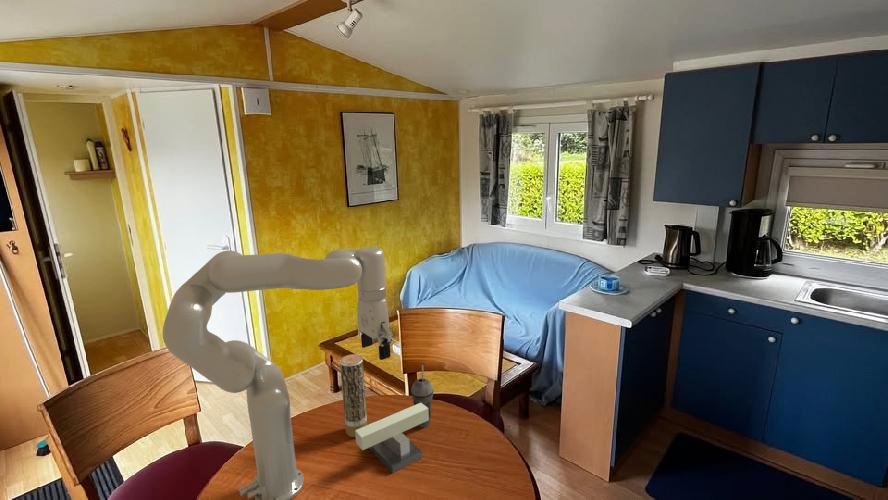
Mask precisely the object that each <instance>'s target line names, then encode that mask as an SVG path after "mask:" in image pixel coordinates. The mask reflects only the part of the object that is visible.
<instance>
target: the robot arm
mask: <svg viewBox="0 0 888 500" xmlns="http://www.w3.org/2000/svg"><path fill="white" fill-rule="evenodd" d="M385 266H386V265H385V252H384V250H383V249H381V248H380V247H376V246H369V247H362V248H360V249H359V248H358V249H347V248H340V249H334V250H331V251H330V252H328V253H326V255H325V257H324V258H323V259H319V258H317V259H316V258H315V259H314V258H305V257H300V256H297V255H293V254H290V253H285V252H275V253H274V252H273V253H260V254H259V253H257V254H244V255H243V254H241V253H240V252H238V251H235V250H223V251H220V252H219V253H216V254H215V255H214V256H212V257H211V258H210V259H209V260H208V261H207V262H206V263H205V264H204V265H203V266H201V268H200V269H199V270H198V271H196V272H195V273H194V274H193V275H192V276H190V278H188V279H187V281H185V282H184V283H182V285H181V286H180V287H179V288H178V289H177V290H176V292H174V294H173V296H172V299H171V302H170V304H169V307H168V310H167V312H166V316H165V318H164V322H163V326H162V327H163V328H162V340H163V343H164V346H165V347H166V348H167V350H168V352H170V353H171V354H172V356H174V357H175V358H177V359H178V360H180V361H181V362H183V363H184V364H186V365H187V366H189V367H190V368H191V369H193V370H194V371H196V372H197V373H198V374H200V375H201V376H203V377H204V378H206V379H207V380H208V381H210V382H211V383H213V384H214V385H216V386H217V388H219V389H221V390H223V391H225V392H227V393H233V394H238V393H241V392H244V391H246V393H245V394H246V403H247V405H246V406H247V412H248V418H249V423H250V424H249V425H250V431H251V438H252V444H253V451H254V452H253V453H254V458H255V459H254V460H255V465H256V472H257V474H256V475H254V480H252V481H251V483H248V484H247V485H243V486H242V487H240V488H238V492H239V495H240V497H243V496H244V495H246V496H247V499H248V500H249V499H251V498H253V497H254V499H255V500H291V499H293V498H295V496H297V495H298V494H299V493H300V492H301V491H302V489H303V487H304V484H305V478H304V474H303V472H302V471H301V470H300V469H297V461H296V453H295V452H296V451H295V445H294V444H295V443H294V435H293V427H292V419H291V418H292V416H291V401H290V400H291V399H290V394H289V390H288V385H287V383H286V380H285V377H284V374H283V372H282V370H281V368H280V367H279V366H278V365H276V363H274V362H273V361H271V360H270V359H269V358H267V356H265V355H264V354H262V353H261V352H259V350H257V349H256V348H254V347H253V346H252V345H250V344H249V343H247V342H245V341H242V340H238V339H237V340H228V341H224V340H223V339H222V338H221V337H220V336H218V335H216V334H214V333H212V332H210V330H208V323H209V321H210V319H211V317H212V310H213V306H214V305H215V304H216V303H217V302H218V301H219V300H220V299H221V298H222V297H223V296H225V295H226V293H227V294H228V293H229V294H230V293H234V294H235V293H242V292H243V293H244V292H253V291H263V290H265V291H266V290H274V289H275V290H276V289H290V290H291V289H293V290H307V291H308V290H309V291H310V290H311V291H313V290H315V291H319V290H320V291H321V290H323V291H324V290H335V289H343V288H349V287H351V286H355V284H356V285H357V307H356V308H357V309H356V310H357V311H356V313H357V316H356V317H357V319H356V320H357V328H358V331H359V333H360V341H361V348H363V349H364V348H368V347H371V346H373V339H374V340H375V339H377V343H378V344H379V345H378V360H380V361H383V360H386V359H389V358H391V343H392V341H393V335H394V334H393V332H392V330H391V329H390V319H389V310H388V303H387V300H386V299H387V285H386V283H387V282H386V267H385ZM382 338H384V339H383V340H382Z"/></svg>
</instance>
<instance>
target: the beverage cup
mask: <svg viewBox="0 0 888 500" xmlns="http://www.w3.org/2000/svg"><path fill="white" fill-rule="evenodd" d="M410 395H411V398H412V400H413V401H412V402H413V406H414V405H416V404H419V403H422V404H424V405H425V406H426V407H427V408H428V412H429V420H428V421H426V422H424V423H422V424H419V425H417V426H416V427H419V428H427V427H429V426H430V425H431V421H432V407H433V398H434V397H433V396H434V387H433V384H432V382H430V380H428V379H427V378H424V365H423V364H421V378H418V379H415V381H414V382H413V383H412V386H411V390H410Z"/></svg>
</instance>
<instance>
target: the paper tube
mask: <svg viewBox="0 0 888 500" xmlns="http://www.w3.org/2000/svg"><path fill="white" fill-rule="evenodd" d="M363 359H364V358H363V357H362V356H361V355H360V354H356V353H355V354H352V353H351V354H348V355H345V356H344V355H343V356H342V357H341V358H340V359H339V367H340V378H341V379H340V380H341V390H342V391H341V392H342V393H341V394H342V404H343V415H344V424H345V425H344V426H345V433H346V436H348V437H349V438H356V434H355V430H357V429H360V428H362V427H364V426H367V425H368V418H367V416H368V415H367V401H366V400H367V399H366V390H365V387H366V385H365V375H364V360H363Z"/></svg>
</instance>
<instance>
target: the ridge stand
mask: <svg viewBox="0 0 888 500" xmlns="http://www.w3.org/2000/svg"><path fill="white" fill-rule="evenodd" d="M368 449H369V451H371V453H372V454H373V455H374V456H376V457H377V459H378V460H379V461H380V462H381V463H382V464H383V465H384V466H385V467H386V468H387V469H388V470H389V471H390V472H391V473H392V474H394V473H395V472H398V471H399V470H401V469H404V468H405V467H407V466H409V465H410V464H413V463H415V462H416V461H418V460H419V459H422V458H423V451H422V450H421V449H420V448H419V447H418V446H417V445H416V444H415V443H413V442H412V441H411V440H410V438H409V437H407V436H406V435H405V434H404V432H402V433H400V434H397V435H395V436H393V437H391V438H389V439H387V440H384V441H382V442H380V443H378V444H376V445H373V446H371V447H369V448H368Z"/></svg>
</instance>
